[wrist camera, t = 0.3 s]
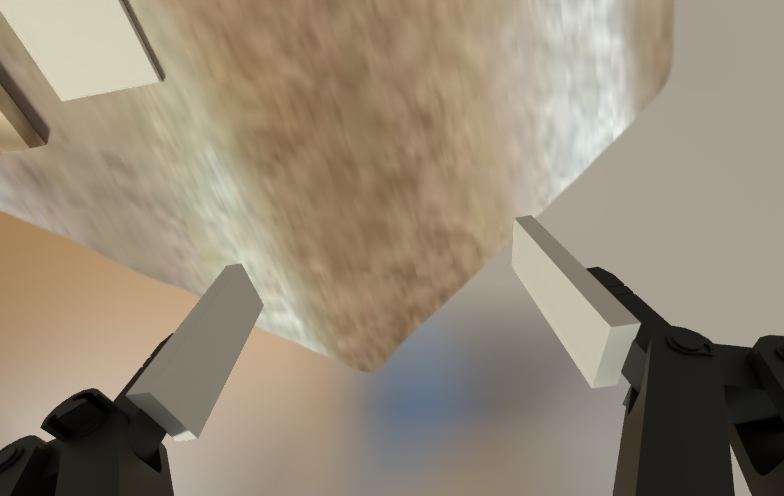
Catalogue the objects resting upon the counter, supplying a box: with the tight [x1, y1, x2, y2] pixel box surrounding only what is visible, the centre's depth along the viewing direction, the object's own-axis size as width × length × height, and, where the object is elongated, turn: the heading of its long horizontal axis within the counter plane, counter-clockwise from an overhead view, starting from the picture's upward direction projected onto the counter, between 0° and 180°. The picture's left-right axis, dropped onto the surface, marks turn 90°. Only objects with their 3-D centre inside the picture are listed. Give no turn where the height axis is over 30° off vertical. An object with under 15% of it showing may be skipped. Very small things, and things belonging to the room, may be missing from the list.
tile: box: [0, 0, 163, 101], centre depth 31 cm, size 12×12×1 cm
